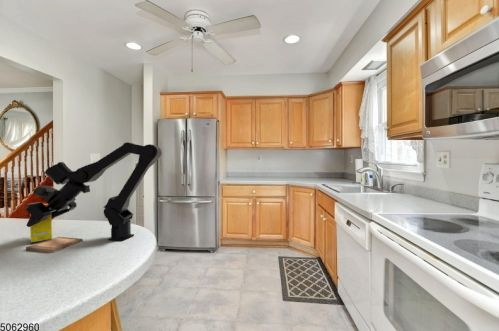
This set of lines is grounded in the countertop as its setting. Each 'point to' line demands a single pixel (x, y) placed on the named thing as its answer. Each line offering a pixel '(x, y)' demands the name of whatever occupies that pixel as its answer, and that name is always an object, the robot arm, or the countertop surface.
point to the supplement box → (41, 231)
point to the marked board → (54, 244)
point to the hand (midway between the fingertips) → (37, 223)
